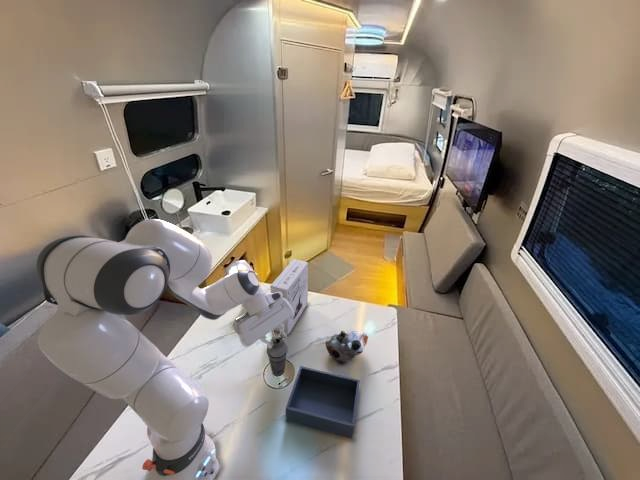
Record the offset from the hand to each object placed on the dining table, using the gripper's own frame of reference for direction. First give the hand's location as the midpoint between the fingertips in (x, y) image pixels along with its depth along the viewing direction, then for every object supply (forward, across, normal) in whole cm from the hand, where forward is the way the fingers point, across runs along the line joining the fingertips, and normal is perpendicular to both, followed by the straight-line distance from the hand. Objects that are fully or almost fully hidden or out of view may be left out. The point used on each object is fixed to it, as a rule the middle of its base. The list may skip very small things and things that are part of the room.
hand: (278, 342), depth 91 cm
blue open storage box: (+27, +4, +2) cm, 28 cm away
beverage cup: (+11, 0, +12) cm, 16 cm away
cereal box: (0, +26, +30) cm, 39 cm away
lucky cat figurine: (+22, +28, +8) cm, 36 cm away
